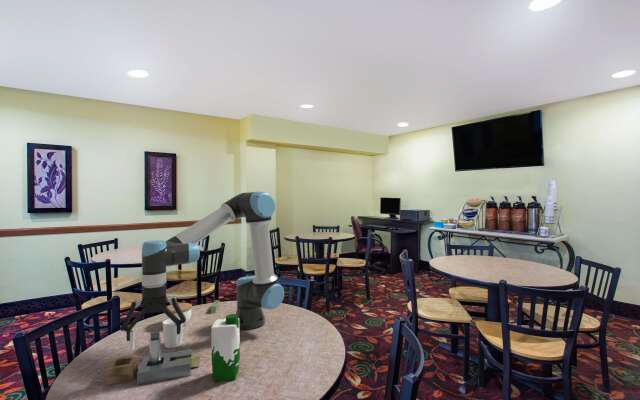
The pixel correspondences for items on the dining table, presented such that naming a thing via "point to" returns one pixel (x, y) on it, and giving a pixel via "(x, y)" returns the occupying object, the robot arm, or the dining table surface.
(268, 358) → the dining table surface
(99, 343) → the dining table surface
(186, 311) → the lidded bowl
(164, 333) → the white cup
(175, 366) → the socket block
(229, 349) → the milk carton
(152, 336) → the grey cylindrical rod
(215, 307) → the medication box
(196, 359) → the bar
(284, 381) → the dining table surface
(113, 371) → the tan wooden open box
